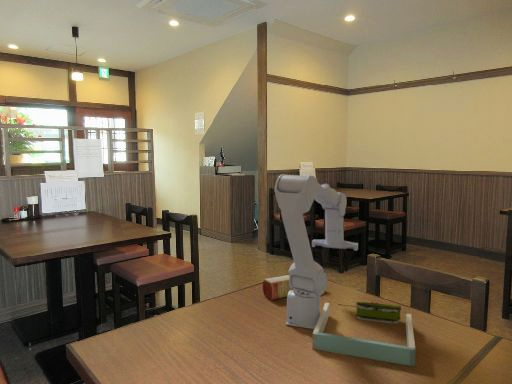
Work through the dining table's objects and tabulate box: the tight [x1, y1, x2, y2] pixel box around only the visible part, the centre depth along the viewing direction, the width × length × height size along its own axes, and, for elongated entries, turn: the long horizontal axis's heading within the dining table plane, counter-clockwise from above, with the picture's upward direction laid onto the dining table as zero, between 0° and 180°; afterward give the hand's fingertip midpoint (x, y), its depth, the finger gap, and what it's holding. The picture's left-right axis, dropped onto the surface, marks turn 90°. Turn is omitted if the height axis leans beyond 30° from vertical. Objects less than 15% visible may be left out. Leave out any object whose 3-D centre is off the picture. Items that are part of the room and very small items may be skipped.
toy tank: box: [338, 301, 402, 325], centre depth 112 cm, size 7×19×10 cm
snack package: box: [262, 274, 293, 301], centre depth 130 cm, size 21×7×7 cm, turn 118°
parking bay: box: [311, 302, 416, 367], centre depth 99 cm, size 24×20×4 cm
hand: (334, 269), depth 122 cm, fingers open, 7 cm apart
